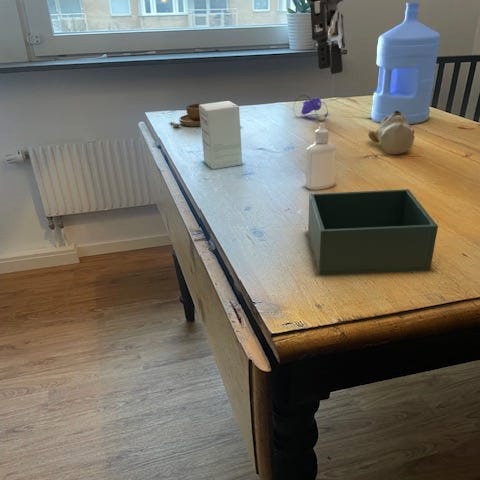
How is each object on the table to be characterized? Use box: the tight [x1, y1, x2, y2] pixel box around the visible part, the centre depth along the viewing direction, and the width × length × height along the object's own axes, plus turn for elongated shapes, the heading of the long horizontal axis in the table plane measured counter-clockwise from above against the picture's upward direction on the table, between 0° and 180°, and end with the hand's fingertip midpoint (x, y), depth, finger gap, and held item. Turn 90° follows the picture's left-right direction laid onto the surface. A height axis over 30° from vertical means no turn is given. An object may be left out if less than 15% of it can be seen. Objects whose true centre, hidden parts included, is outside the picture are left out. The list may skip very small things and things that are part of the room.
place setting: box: [170, 103, 202, 128], centre depth 147 cm, size 18×20×6 cm
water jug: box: [370, 1, 441, 126], centre depth 134 cm, size 16×16×28 cm
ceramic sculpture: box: [368, 111, 415, 155], centre depth 116 cm, size 11×9×15 cm
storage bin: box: [307, 188, 439, 276], centre depth 73 cm, size 15×14×7 cm
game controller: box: [292, 95, 329, 122], centre depth 147 cm, size 10×8×10 cm
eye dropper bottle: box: [305, 122, 337, 191], centre depth 96 cm, size 4×6×12 cm
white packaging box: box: [199, 100, 243, 170], centre depth 112 cm, size 7×7×13 cm
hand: (331, 71), depth 94 cm, fingers open, 8 cm apart
